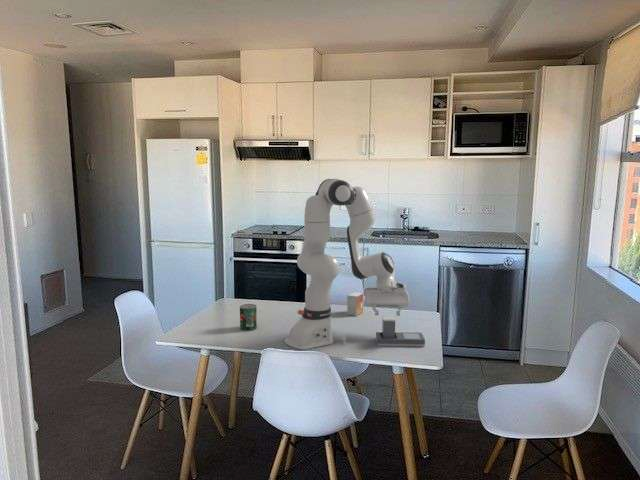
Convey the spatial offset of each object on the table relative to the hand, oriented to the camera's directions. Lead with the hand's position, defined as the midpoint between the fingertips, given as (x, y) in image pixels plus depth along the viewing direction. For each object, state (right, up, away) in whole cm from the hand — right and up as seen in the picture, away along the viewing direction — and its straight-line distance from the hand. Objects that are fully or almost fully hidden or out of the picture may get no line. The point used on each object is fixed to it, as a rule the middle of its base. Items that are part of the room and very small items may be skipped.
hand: (387, 315), depth 216 cm
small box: (-11, -6, +40) cm, 42 cm away
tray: (+2, -10, +7) cm, 13 cm away
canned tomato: (-64, -9, +16) cm, 66 cm away
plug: (0, -10, -3) cm, 11 cm away
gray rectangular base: (+5, -12, -3) cm, 13 cm away
